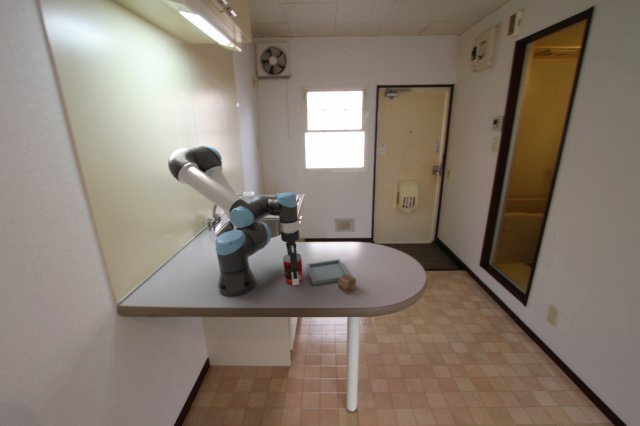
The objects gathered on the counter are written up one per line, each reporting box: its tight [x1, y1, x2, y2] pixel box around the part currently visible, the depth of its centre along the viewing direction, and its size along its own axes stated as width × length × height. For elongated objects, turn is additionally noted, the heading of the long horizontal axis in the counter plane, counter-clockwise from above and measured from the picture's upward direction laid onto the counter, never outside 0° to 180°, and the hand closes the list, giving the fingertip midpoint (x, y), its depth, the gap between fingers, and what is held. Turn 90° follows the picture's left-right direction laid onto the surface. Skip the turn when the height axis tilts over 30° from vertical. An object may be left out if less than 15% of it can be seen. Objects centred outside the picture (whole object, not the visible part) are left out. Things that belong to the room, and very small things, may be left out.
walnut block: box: [337, 273, 357, 295], centre depth 110 cm, size 5×5×5 cm
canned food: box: [282, 252, 304, 285], centre depth 118 cm, size 8×8×11 cm
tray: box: [305, 258, 349, 287], centre depth 123 cm, size 16×16×2 cm
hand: (293, 276), depth 119 cm, fingers open, 13 cm apart
